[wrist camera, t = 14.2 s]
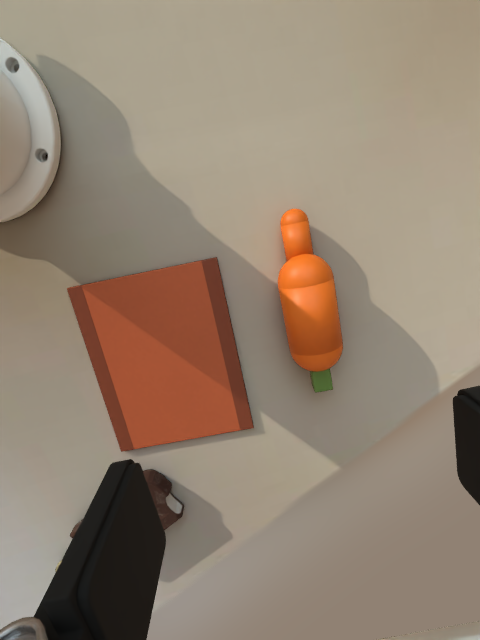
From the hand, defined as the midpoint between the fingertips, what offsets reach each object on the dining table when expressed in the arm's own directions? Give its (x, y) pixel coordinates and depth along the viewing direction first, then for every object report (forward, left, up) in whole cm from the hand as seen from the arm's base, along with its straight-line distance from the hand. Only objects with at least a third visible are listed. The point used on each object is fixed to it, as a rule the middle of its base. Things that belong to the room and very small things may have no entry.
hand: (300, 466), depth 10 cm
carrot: (0, +4, -19) cm, 19 cm away
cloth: (+2, -9, -19) cm, 21 cm away
